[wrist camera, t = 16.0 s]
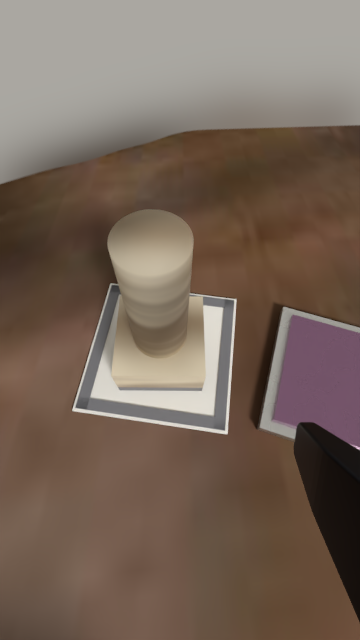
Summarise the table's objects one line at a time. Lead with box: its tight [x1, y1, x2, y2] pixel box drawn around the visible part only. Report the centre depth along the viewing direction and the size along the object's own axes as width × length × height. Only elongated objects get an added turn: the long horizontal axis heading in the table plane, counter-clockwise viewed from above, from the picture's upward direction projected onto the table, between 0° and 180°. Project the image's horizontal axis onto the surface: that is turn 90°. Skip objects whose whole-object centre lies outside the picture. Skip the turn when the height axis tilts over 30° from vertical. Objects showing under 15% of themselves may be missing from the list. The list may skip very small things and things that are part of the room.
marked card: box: [72, 283, 236, 434], centre depth 24 cm, size 11×11×1 cm
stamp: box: [107, 209, 206, 391], centre depth 18 cm, size 6×6×12 cm
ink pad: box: [257, 307, 360, 450], centre depth 23 cm, size 10×10×1 cm
